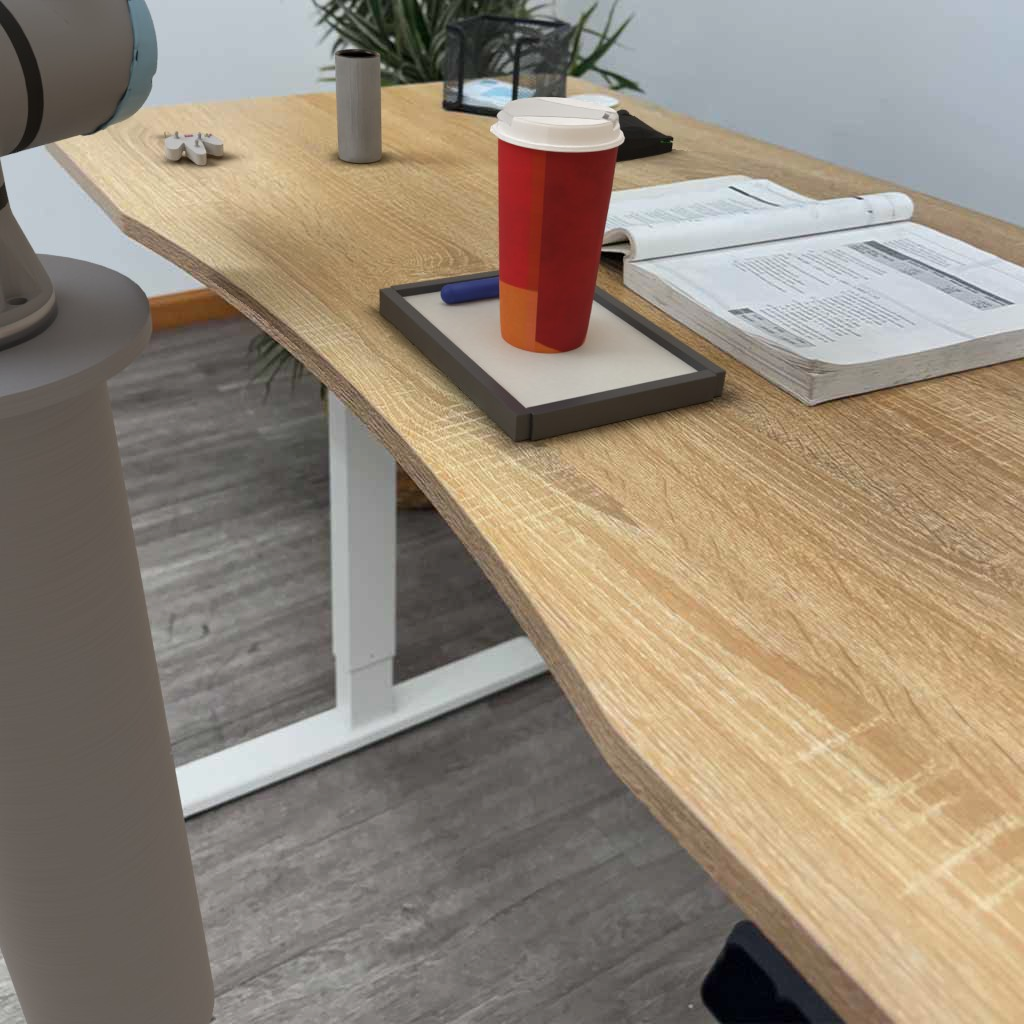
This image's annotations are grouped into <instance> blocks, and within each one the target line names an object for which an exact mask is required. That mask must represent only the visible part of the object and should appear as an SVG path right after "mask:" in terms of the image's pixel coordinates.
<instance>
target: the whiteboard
mask: <svg viewBox="0 0 1024 1024" xmlns="http://www.w3.org/2000/svg"><path fill="white" fill-rule="evenodd" d="M378 293H379V295H378V296H379V298H378V299H379V313H380V314H381V315H382V316H383V317H384V318H385V319H387V321H389V322H390V323H391V325H392V326H394V327H395V328H396V329H397V330H398V332H400V333H401V334H402V335H403V336H404V337H405V338H406V339H407V340H408V341H409V342H410V343H411V344H412V345H414V346H415V347H416V348H417V349H418V350H419V351H420V352H421V353H422V354H423V355H424V356H425V357H426V358H427V359H428V360H429V361H430V362H431V363H432V364H433V365H434V366H436V367H437V368H438V369H439V371H440V372H442V374H444V375H445V376H446V377H447V378H448V379H449V380H450V381H451V382H452V383H453V384H454V385H455V386H456V387H457V388H459V390H460V391H462V393H464V395H465V396H467V397H468V398H469V399H470V400H471V401H472V402H473V403H474V404H475V405H476V406H477V408H479V409H480V410H481V411H483V413H484V414H485V415H487V416H488V418H490V419H491V420H492V421H493V422H494V423H495V424H496V425H497V426H498V427H499V428H500V429H501V430H502V431H503V432H504V433H506V435H507V436H508V437H509V438H510V439H512V440H513V442H515V443H517V442H522V441H526V440H529V439H530V440H531V441H533V442H534V441H538V440H542V439H546V438H551V437H555V436H561V435H565V434H568V433H573V432H578V431H582V430H587V429H592V428H595V427H600V426H604V425H609V424H612V423H617V422H622V421H627V420H630V419H635V418H639V417H644V416H648V415H653V414H657V413H663V412H665V411H671V410H675V409H680V408H684V407H687V406H692V405H697V404H700V403H705V402H711V401H713V400H714V398H716V397H720V396H722V395H723V391H724V387H725V381H726V376H727V375H726V374H727V371H726V370H725V369H724V368H722V367H721V366H719V364H716V363H715V362H714V361H712V360H711V359H709V358H708V357H706V356H704V355H703V354H701V353H700V352H698V351H696V350H695V349H694V348H692V347H691V346H689V345H688V344H686V343H685V342H683V340H680V339H678V338H677V337H676V336H674V335H672V334H671V333H669V332H668V331H667V330H666V329H664V328H662V327H660V326H658V324H656V323H655V322H653V321H651V320H650V319H649V318H646V317H645V316H644V315H642V314H641V313H639V312H638V311H636V310H635V309H633V308H632V307H630V306H629V305H628V304H626V303H624V302H623V301H621V300H620V299H618V298H616V297H615V296H614V295H612V294H611V293H609V292H607V291H606V290H605V289H603V288H601V287H600V286H599V285H597V284H596V286H595V292H594V298H593V304H592V310H591V315H590V321H589V326H588V331H587V336H586V339H585V342H584V344H583V345H582V346H580V347H579V348H577V349H574V350H571V351H568V352H563V353H535V352H530V351H525V350H522V349H519V348H516V347H514V346H512V345H510V344H508V343H507V342H506V341H505V340H504V339H503V338H502V335H501V327H500V296H499V269H497V270H490V271H484V272H476V273H470V274H462V275H455V276H449V277H442V278H436V279H435V278H434V279H428V280H421V281H415V282H408V283H401V284H393V285H390V287H383V288H379V292H378Z"/></svg>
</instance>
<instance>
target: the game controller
mask: <svg viewBox="0 0 1024 1024" xmlns="http://www.w3.org/2000/svg"><path fill="white" fill-rule="evenodd" d="M166 133H168V135H169V136H168V137H167V135H166ZM164 151H165V155H166V157H167V159H168V160H170V161H178V160H180V159H181V158H182V157H183V155H184V154H185V156H186V157H187V158H188V159H189V160H191V161H192V162H193V163H194V164H196V165H197V166H206V165H207V164H208V163H207V154H209V155H212V156H216V157H221V156H223V155H224V142H223V140H222V139H220V138H219V137H218V136H216V135H215V134H212V133H209V132H201V131H199V132H193V133H182V134H179V131H178V130H175V131H174V135H171V133H170V132H168V131H164ZM183 153H184V154H183Z"/></svg>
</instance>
